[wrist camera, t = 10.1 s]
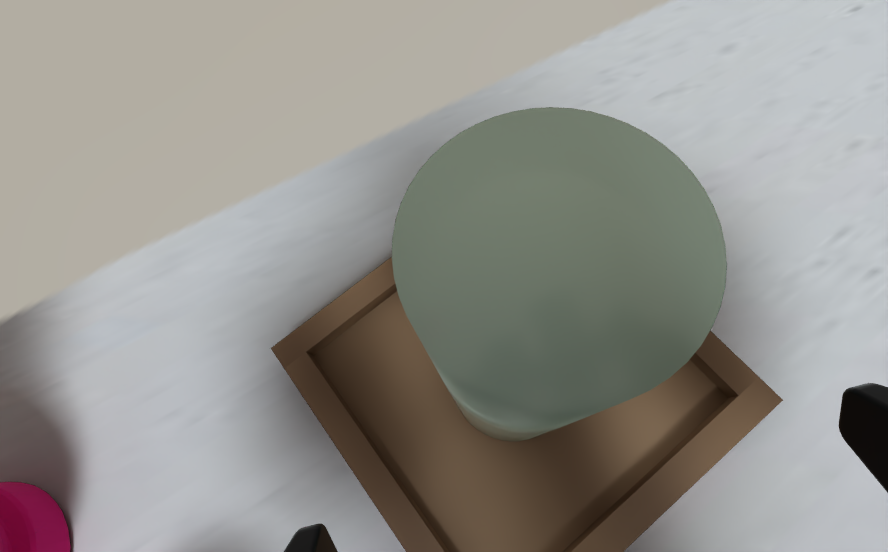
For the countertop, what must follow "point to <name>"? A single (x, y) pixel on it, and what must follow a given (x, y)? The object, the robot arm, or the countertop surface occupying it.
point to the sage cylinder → (556, 267)
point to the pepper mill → (31, 520)
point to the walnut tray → (507, 462)
